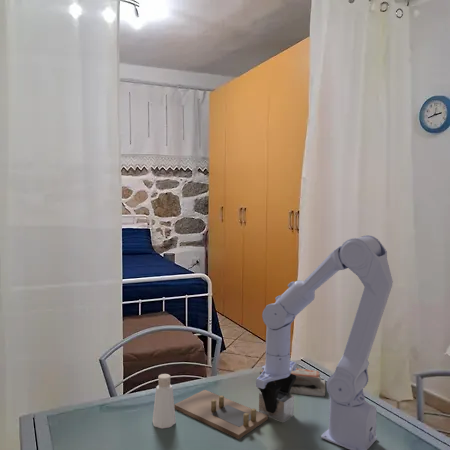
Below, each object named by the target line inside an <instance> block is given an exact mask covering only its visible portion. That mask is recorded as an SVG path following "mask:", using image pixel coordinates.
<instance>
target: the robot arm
mask: <svg viewBox="0 0 450 450" xmlns="http://www.w3.org/2000/svg"><path fill="white" fill-rule="evenodd" d="M347 269H348V270H349V271H351V272H352V273H353V274H355V275H356V276H357V277H358V279H359V280H360V282H361V283H362V285H363V286H364V287H363V290H362V294H361V297H360V301H359V303H358V307H357V310H356V313H355V317H354V320H353V323H352V326H351V329H350V332H349V335H348V337H347V338H348V339H347V342H346V345H345V348H344V351H343V354H342V356H341V358H340V359H339V361H338V363H337V365H336V368H335V370H334V371H333V374H332V375H330V376H329V377H328V379H327V381H326V383H325V389H326V392H327V393H328V395H329V412H328V413H329V416H328V417H329V418H328V429H327V430H325V431H324V432H323V433H322V434H321V435H320V437H321V439H323V440H324V441H325V440H326V441H328V442H330V443H333V444H335V445H337V446H341V447H343V448H345V449H348V450H368V449H370V447H371V446H372V445H373V444H374V443H375V442H376V441H377V439H378V437H377V408H376V406H375V405H372V404H370V403H369V402H368V401H367V400H366V398H365V393H364V388H366V386H367V385H368V382H369V374H368V373H369V372H368V370H369V369H368V368H369V366H370V365H369V364H370V362H369V356H370V353H371V352H372V348H373V345H374V342H375V339H376V336H377V333H378V330H379V326H380V323H381V320H382V317H383V315H384V312H385V308H386V305H387V303H388V299H389V296H390V293H391V292H392V288H393V282H394V281H393V277H392V273H391V270H390V265H389V261H388V251H387V250H386V248H385V246H384V245H383V244H382V242H381V241H380V240H379V239H378V238H376V237H375V236H373V235H366V234H365V235H363V236H360V237H353V238H349V239H347V240H345V241H344V242H343V243H342V245H341V246H337V247H336V248H335V249H334V250H333V251H332V252H331V253H329V255H328V256H327V257H326V258H325V259H324V260H323V261H322V262H321V263H320V264H319V265H318V266H317V267H316V268H314V270H313V271H312V272H311V273H310V275H308V276H307V277H306V278H305V280H296V281H294V280H293V281H291V282H289V283H288V284H287V287H288V288H287V289H286V290H285V291H284V292H283V293H281V294H280V295H278V296H276V297H275V302H274V303H269V304H266V306H265V307H264V308H263V310H262V314H261V317H262V321H263V323H264V325H265V326H266V330H265V331H266V333H265V334H266V335H265V362H264V363H265V364H263V365H264V366H263V365H262V367H261V368H262V370H263V372H262V373H261V375H260V374H259V376H258V377H257V378H256V379H255V387H256V388H258V387H259V392H261V393H262V396H263V399H264V403H265V408H266V411H268V412H271V413H274V412H275V409H276V402H277V397H278V393H279V391H282V392H285V393H288V394H291V393H290V390H291V387H292V385H293V383H294V382H295V380H296V375H294V374H291V372H292V371H295V370H296V368H297V361H296V362H295V361H293V360H291V335H292V334H291V328H292V323H293V322H294V321H295V319H296V317H297V316H298V315H299V314H300V313H301V312H302V311H303V310H305V308H307V306H309V305H310V304H311V303H312V302H313V301H314V300H315V297H316V294H315V293H316V291H317V290H318V289H319V288H320V287H321V286H322V285H324V284H325V283H326V282H327V281H329V280H330V279H331V278H332V277H333V276H335V274H337V273H338V272H339V271H343V270H344V271H345V270H347ZM274 381H275V383H276V385H275V383H274Z"/></svg>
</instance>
